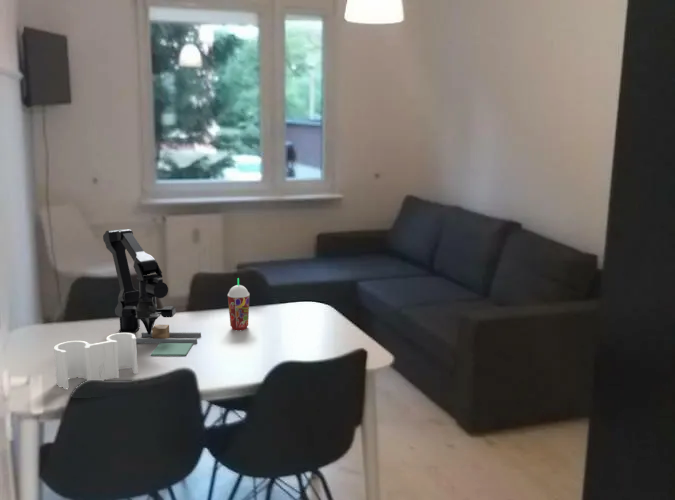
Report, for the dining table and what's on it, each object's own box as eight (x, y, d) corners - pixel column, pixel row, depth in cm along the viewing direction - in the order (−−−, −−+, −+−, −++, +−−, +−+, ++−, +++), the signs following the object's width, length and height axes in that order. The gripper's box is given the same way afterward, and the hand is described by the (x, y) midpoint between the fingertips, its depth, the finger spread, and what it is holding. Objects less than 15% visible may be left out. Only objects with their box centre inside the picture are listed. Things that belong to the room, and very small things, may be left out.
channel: (136, 343, 270) (135, 339, 270) (142, 336, 278) (142, 332, 278) (196, 343, 270) (196, 339, 269) (201, 336, 278) (200, 332, 278)
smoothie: (248, 331, 283) (247, 280, 279) (226, 331, 283) (225, 280, 280) (251, 325, 291) (250, 275, 288) (230, 325, 292) (229, 275, 288)
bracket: (130, 365, 247) (128, 330, 245) (141, 374, 239) (139, 337, 237) (52, 381, 233) (50, 344, 231) (61, 391, 225) (58, 352, 223)
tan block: (152, 341, 271) (152, 328, 270) (156, 337, 276) (155, 324, 275) (166, 341, 271) (165, 328, 270) (169, 337, 276) (169, 324, 275)
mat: (151, 355, 256) (151, 354, 256) (159, 344, 268) (159, 343, 268) (185, 356, 256) (185, 354, 256) (192, 344, 268) (192, 343, 268)
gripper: (115, 298, 263) (117, 340, 266) (167, 298, 262) (169, 341, 265) (124, 290, 274) (126, 331, 277) (175, 291, 273) (176, 331, 276)
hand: (149, 334), depth 273 cm, fingers closed
